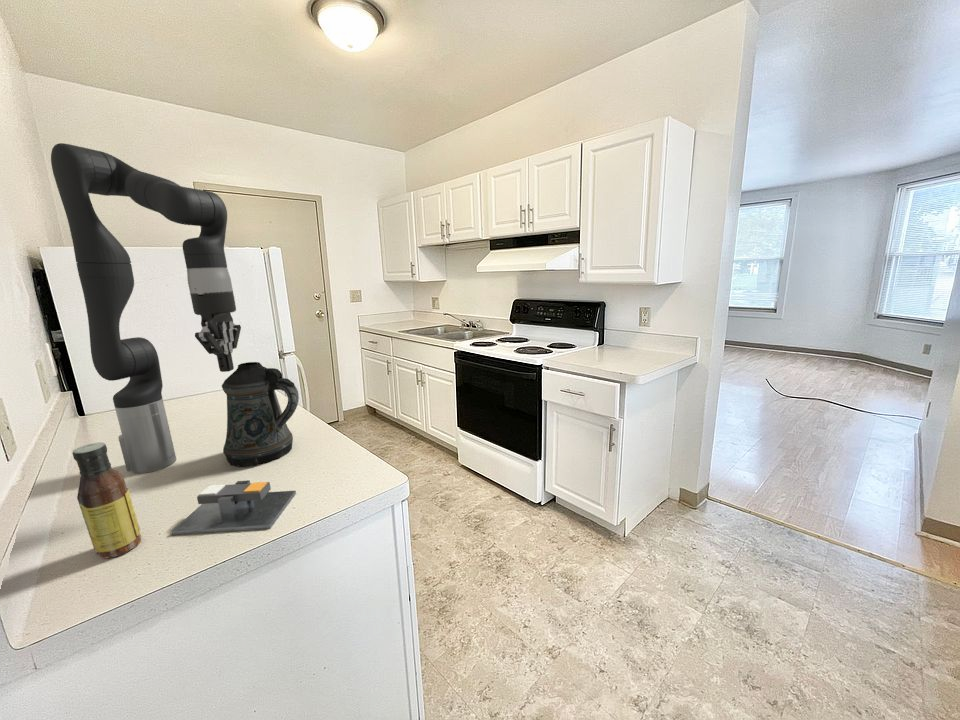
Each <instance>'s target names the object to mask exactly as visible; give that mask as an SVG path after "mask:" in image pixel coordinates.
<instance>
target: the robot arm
mask: <svg viewBox="0 0 960 720" xmlns="http://www.w3.org/2000/svg"><path fill="white" fill-rule="evenodd" d="M50 163H51V169H52V174H53V177H54V181H55V184H56V188H57V190H58V192H59V197H60V199H61V203H62V206H63V208H64V212H65V215H66V219H67V223H68V227H69V231H70V232H69V233H70V237H71V240H72V245H73V251H74V257H75V262H76V264H75V265H76V267H77V268H76V269H77V274H78V278H79V280H80V281H79V282H80V285H81V290H82V293H83V297H84V303H85V308H86V309H85V310H86V315H87V321H88V331H89V334H88V335H89V346H90V347H89V348H90V354H91V355H90V356H91V360H92V363H93V367H94V368H95V370H96V372H97V373H98V375H99V377H100V378H103V379H104V380H107V381H112V382H113V381H114V382H115V381H119V380H123V379H128V378H129V381H127V383H126V385H125V386H124V387H123V388H122V389H120V390H118V391H117V392H116V393H115V394H114V395H113V397H112V402H113V405H114V409H115V413H116V416H117V417H116V419H117V420H118V425H119V429H120V432H121V434H120V435H118V437H117V438H118V442H119V445H120V450H121V454H122V457H123V462H124V465H125V469H126V471H127V472H131V473H134V474H144V473H145V474H146V473H152V472H154V471H157V470H161V469H163V468H166V467H168V466H170V465H172V464H174V463H175V462H176V461H177V457H176V456H177V455H176V451H175V448H174V442H173V438H172V434H171V430H170V429H171V428H170V424H169V422H168V421H169V420H168V416H167V412H166V408H165V404H164V399H163V398H164V397H163V395H162V391H163V378H162V371H161V366H160V360H159V359H160V358H159V355H158V352H157V350H156V347H155V345H154V344H153V343H152V342H151V341H150V340H149V339H147V338H145V337H139V336H137V337H130V338H123V339H121V334H120V333H121V331H120V321H121V318H122V314H123V312H124V310H125V307H126V306H127V304H128V302H129V300H130V298H131V295H132V293H133V291H134V287H135V279H134V273H133V267H132V261H131V258H130V255H129V253H128V251H127V250H126V248H125V247H124V246H123V245H122V244H121V242H120V241H119V240H118V239H117V238H116V237H115V235H113V234H112V233H111V232H110V230H109V229H108V228H107V226H105V225H104V224H103V223H102V221H101V220H100V218H99V216H98V215H97V212H95V208H94V206H93V204H92V201H91V198H90V194H92V195H100V196H105V197H106V196H115V197H116V196H120V197H129V198H130V199H131V200H132V201H133V202H134V203H136V204H137V205H139V206H141V207H143V208H145V209H147V210H150V211H154V212H157V213H159V214H160V215H162V216H163V217H164V218H165V219H167V220H168V221H170V222H173V223H175V224H180V225H185V226H186V225H187V226H196V227H200V232H199V236H198V237H191V238H187V239H185V240H184V241H183V242H182V253H183V258H184V263H185V267H186V277H187V284H188V285H187V286H188V289H189V295H190V299H191V305H192V309H193V313H194V314H195V315H197V316H201V317H200V319H201V321H200V325H201V330H200V332H199V331H198V332H195V333H194V337H195V339H196V340H197V342H199V343H200V345H201V346H202V347H203V348H204V350H205V351H206V352H207V353H208V354H210V355H212V354H213V355H215V356H216V359H217V365H218V368H219V371H220V372H222V373H224V372H225V373H227V372H231V371H233V370H234V368H235V367H234V362H233V361H234V360H233V356H232V354H233V352H234V349H235V350H236V349H237V347H238V342H239V339H240V335H241V329H242V326H241V325H240V324H235V323H234V318H233V315H231V313H235V312H236V311H237V306H236V301H235V296H234V295H235V294H234V290H233V289H234V288H233V285H232V284H233V283H232V278H231V276H230V273H229V269H228V263H227V258H226V253H225V240H226V233H227V232H226V231H227V225H228V224H227V223H228V209H227V207H226V204H225V202H224V201H223V199H222V198H221V197H220V196H219V194H217V193H215V192H213V191H211V190H204V189H198V188H192V187H186V186H181V185H180V184H179V183H176V182H175V181H172V180H171V179H167V178H164V177H162V176H158V175H155V174H151V173H147V172H144V171H141V170H138V169H137V168H135V167H133V166H131V165H129V164H128V163H126V162H124V161H123V160H121V159H119V158H118V157H116V156H114V155H112V154H110V153H107V152H104V151H100V150H96V149H92V148H87V147H83V146H79V145H73V144H70V143H61V142H60V143H57V144H54V146H53V147H52V149H51V152H50Z"/></svg>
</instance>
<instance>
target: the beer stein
mask: <svg viewBox="0 0 960 720" xmlns="http://www.w3.org/2000/svg"><path fill="white" fill-rule="evenodd" d="M221 388H222V390H223V392H224V394H225V395H226V410H227V411H226V417H227V419H226V437H225V441H224V445H223V449H222V451H223V454H224V456H225V458H226V461H227V463H228V464H229V465H230V466H233V467H238V468H247V467H257V466H261V465H265V464H269V463H272V462H274V461H278V460H279V459H282V458H283V457H284V456H286V455H287V454H289V453H290V452H291V451H292V449H293V441H294V437H293V433H292V431H290V429H289V427H288V424H287V422H288V421H289V420H290V419H291V417H292V416H293V415H294V413H295V412H296V410H297V409H298V408H297V407H298V404H299V398H300V397H299V395H300V394H299V391H298V388H297V387H296V385H295V383H294V382H293V381H291V379H289V378H286V377H284V378H283V373H282V372H281V371H280V370H279V369H278V368H274V367H273V368H272V367H266V366H264V365H262V364H261V362H258V361H249V362H243V363H238V364H237V368H236V369H235V370H234V371H233V372H232V373H231V374H230V375H229V376H228V377H227V378H225V380H224V381H223V383H221ZM277 390H278V391H279V390H280V391H282V392H284V393H285V394H286V396H287V404H286V406H285V408H284V410H283V411H282V409H281V408H282V407H281V405H280V402H279V399H278V396H277V393H276V391H277Z"/></svg>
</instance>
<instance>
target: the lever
mask: <svg viewBox="0 0 960 720" xmlns="http://www.w3.org/2000/svg"><path fill="white" fill-rule="evenodd" d="M271 487H272V486H271V482H270V481H259V482H250V483H248V484H212V485H210V484H209V486H207V487H205V489H204V490H202V491H201V492H200V494H198V495H197V496H196V499H197V503H198V505H201V504H209V503H218V499H219V498H220V497H229V496H234V501H235V502H240V501H255V500H262V499H263V498H264V496H265V495H266V494H267V493H268V492H271V489H272V488H271Z"/></svg>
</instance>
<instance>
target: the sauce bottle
mask: <svg viewBox="0 0 960 720" xmlns="http://www.w3.org/2000/svg"><path fill="white" fill-rule="evenodd" d="M71 453H72V457H73V460H75V461H76V464H77V466H78V469H79V475H80V479H79V483H78V490H77V495H76V496H77V497H76V498H77V502H78V505H79V509H80V510H81V514H82V518H83V520H84V523H85V526H86V529H87V532H88V535H89V538H90V540H91V545H92V546H93V549H94V551H95V552H96V555H97V556H98V557H99V558H104V559H108V558H110V559H111V558H115V557H118V556H121V555H124V554H126V553H128V552H130V551H131V550H132V549H134V548H135V547H137V546H138V545H139V544H140V542H141V541H142V535H141V528H140V524H139V520H138V518H137V513H136V511H135V507H134V504H133V501H132V496H131V494H130V490H129V488H128V487H127V484H126V481H125V480H126V479H125V478H124V476H123V474H121V473H120V471H119V470H116V469H114V468H113V467H112V464H111V462H110V459H109V456H108V447H107V444H106V443H105V442H102V441H101V442H100V441H99V442H93V443H89V444H85V445H82V446H79V447H76V448H75V449H74V450H73V451H72V452H71Z"/></svg>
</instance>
